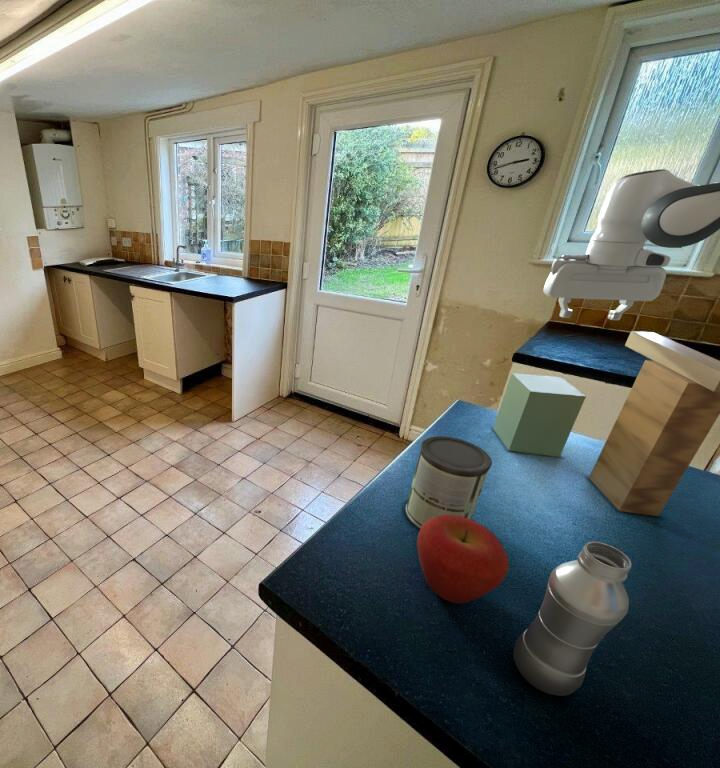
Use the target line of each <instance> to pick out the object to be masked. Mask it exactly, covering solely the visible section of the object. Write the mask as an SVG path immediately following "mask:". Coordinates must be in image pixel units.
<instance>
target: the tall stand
mask: <svg viewBox="0 0 720 768" xmlns="http://www.w3.org/2000/svg"><path fill="white" fill-rule="evenodd" d="M719 417H720V392H713V391H712V390H710V389H708V388H706V387H704V386H702V385H700V384H698V383H696V382H694V381H692V380H690V379H688V378H686V377H684V376H683V375H681V374H679V373H677V372H675V371H673V370H671V369H669V368H667V367H665V366H663V365H661V364H659V363H657V362H655V361H654V360H651V359H650V360H649V359H645V360H644V362H643V364H642V366H641V368H640V370H639V372H638V374H637V376H636V378H635V380H634V383H633V385H632V386H631V389H630V391H629V393H628V395H627V397H626V399H625V401H624V403H623V406H622V408H621V410H620V411H619V414H618V416H617V418H616V420H615V422H614V424H613V426H612V428H611V430H610V432H609V434H608V437H607V439H606V440H605V443H604V444H603V447H602V449H601V451H600V452H599V454H598V457H597V459H596V461H595V463H594V466H593V468H592V470H591V472H590V473H589V475H588V479H589V480H590V481H591V482H592V483H593V485H595V486H596V488H597V489H598V490H599V491H600V492H601V493H602V494H603V495H604V496H605V498H606V499H607V500H608V501H609V502H610V503H611V504H612V505H613V506H614V507H615V508H616V509H617V510H618V512H625V513H631V514H637V515H644V516H653V517H659V516H660V514H661V512H662V511H663V510H664V508H665V506H666V504H667V503H668V501H669V499H670V498H671V496H672V494H673V492H674V491H675V489H676V488H677V486H678V485H679V483H680V481H681V479H682V478H683V476H684V474H685V473H686V471H687V469H688V468H689V466H690V464H691V463H692V461H693V459H694V458H695V456H696V454H697V453H698V451H699V449H700V448H701V446H702V444H703V443H704V441H705V439H706V438H707V436H708V434H709V433H710V431H711V430H712V427H713V426H714V424H715V423H716V422H717V419H718V418H719Z"/></svg>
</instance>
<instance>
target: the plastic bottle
mask: <svg viewBox="0 0 720 768" xmlns="http://www.w3.org/2000/svg"><path fill="white" fill-rule="evenodd" d="M631 568H632V561H631V559H630V558H629V557H628V556H627V555H626V554H625V552H623V551H621V550H619V548H616V547H615V546H612V545H611V544H607V543H605V542H599V541H589V542H587V543H586V544H584V546H583V548H582V549H581V551H580V552H579V553H578V555H577V557H576V560H571V561H567V562H562V563H561V564H559V565H558V566H556V567H555V568H553V570H552V571H551V572H550V575H549V577H548V581H547V586H546V589H545V594H544V598H543V599H542V600H543V601H542V602H541V605H540V609H539V610H538V613H537V615H536V617H535V618H534V619H533V621H532V622H531V623H530V625H529V626H528V628H526V629H525V630H524V631H523V632H522V633H521V634H520V635H519V636H518V638H517V639H516V640H515V643H514V645H513V646H514V647H513V653H512V658H513V661H514V664H515V666H516V668H517V670H518V671H519V673H520V674H521V676H522V677H523V678H524V680H526V682H528V683H529V684H530V685H532V687H534V688H536V689H537V690H539V691H541V692H543V693H545V694H548V695H552V696H558V697H565V696H570V695H572V694H573V693H575V692H576V691H577V690H578V689H580V688H581V686H582V685H583V683H584V680H585V676H586V672H587V666H588V664H589V663H590V659H591V657H592V656H593V655H592V654H593V652H594V650H595V649H596V648H597V646H598V645H599V644H600V642H601V641H602V640H603V638H604V637H605V636H606V635H607V634H609V632H610V631H612V629H613V628H615V627H616V626H617V625H618V624H619V623H620V622H621V621H622V620H623V619H624V618H625V617H626V616H627V614H628V612H629V605H630V603H629V602H630V599H629V595H628V593H627V591H626V587H625V586H624V584H623V583H624V582H625V581H626V579H627V578H628V573H629V571H630V570H631Z"/></svg>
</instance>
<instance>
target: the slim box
mask: <svg viewBox="0 0 720 768" xmlns="http://www.w3.org/2000/svg"><path fill="white" fill-rule="evenodd" d="M624 346H625V347H626V348H628V349H631V350H632V351H634V352H636V353H638V354H640V355H642V356H644V357H645V358H648V359H650V360H651V361H655V362H657V363H659V364H661V365H663V366H665V367H667V368H669V369H671V370H673V371H675V372H677V373H679V374H681V375H683V376H684V377H686V378H688V379H690V380H692V381H694V382H696V383H698V384H700V385H702V386H704V387H706V388H708V389H710V390H712V391H713V392H720V360H718V359H716V358H714V357H711V356H709V355H707V354H705V353H702V352H700V351H698V350H695V349H693V348H690V347H689V346H686V345H684V344H682V343H680V342H677V341H675V340H672V339H670V338H667V337H665V336H663V335H660V334H659V333H656V332H653V331H638V330H637V331H636V330H631V331H630V333H629V335H628V337H627V340H626V341H625V344H624Z"/></svg>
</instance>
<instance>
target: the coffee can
mask: <svg viewBox="0 0 720 768" xmlns="http://www.w3.org/2000/svg"><path fill="white" fill-rule="evenodd" d="M419 450H420V451H419V455H418V459H417V463H416V466H415V471H414V475H413V478H412V482H411V487H410V491H409V495H408V499H407V503H406V505H405V514H406V516H407V518H408V519H409V521H410V522H411V523H412V524H413V525H414V526H416V527H417V528H418V529H419V530H420V529H421V526H422V525H423V524H424V523H425V522H426V521H428V520H429V519H431V518H434V517H438V516H441V515H456V516H462V517H464V518H467V519H470V520H473V515H474V513H475V510H476V507H477V505H478V501H479V498H480V496H481V492H482V489H483V487H484V484H485V482H486V478H487V476H488V473H489V471H490V469H491V467H492V464H493V460H492V458H491V456H490V455H489V454H488V453H487V452H486V451H485V450H484V449H482V448H481V447H480V446H478V445H476V444H474V443H472V442H470V441H466V440H464V439H461V438H456V437H452V436H445V435H436V436H435V435H434V436H431V437H430V436H429V437H427V438H425V439H424V440H422V441H421V444H420V449H419Z"/></svg>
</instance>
